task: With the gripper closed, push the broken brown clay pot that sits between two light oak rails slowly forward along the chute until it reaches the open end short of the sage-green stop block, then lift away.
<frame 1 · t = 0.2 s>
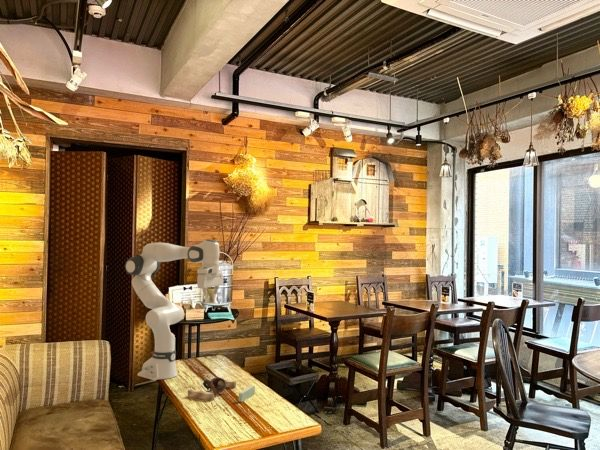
hand: (210, 295, 245), 47 cm above the table, tool pointing down, fingers open, 8 cm apart
broken brown clay pot: (214, 392, 230), on the table
stop block: (246, 397, 222), on the table
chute: (212, 391, 230), on the table
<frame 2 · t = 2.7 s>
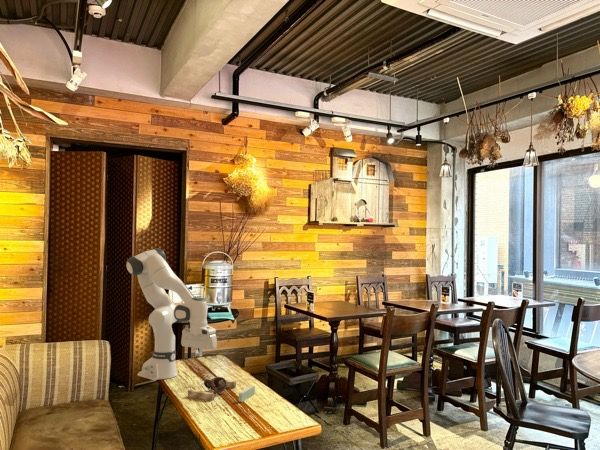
hand: (198, 356, 234), 17 cm above the table, tool pointing down, fingers closed
nothing on the table moved.
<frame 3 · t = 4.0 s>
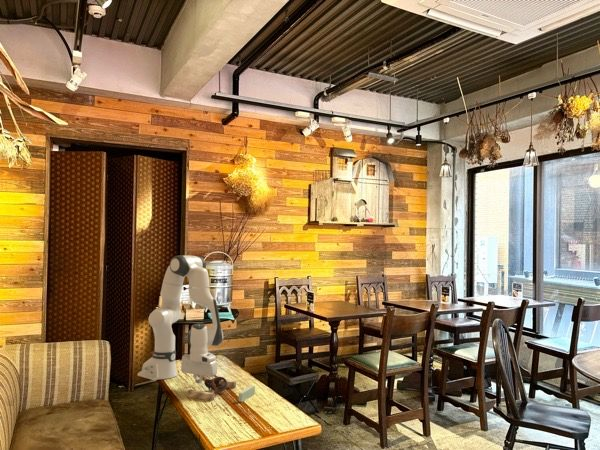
hand: (198, 382, 234), 3 cm above the table, tool pointing down, fingers closed
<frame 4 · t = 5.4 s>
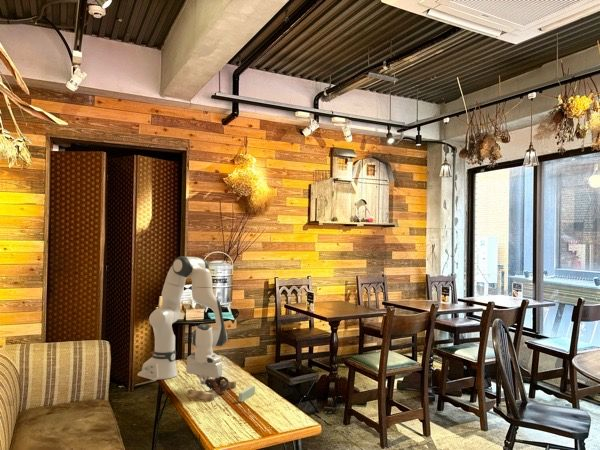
hand: (203, 384, 232), 3 cm above the table, tool pointing down, fingers closed
broken brown clay pot: (217, 391, 231), on the table, touching gripper
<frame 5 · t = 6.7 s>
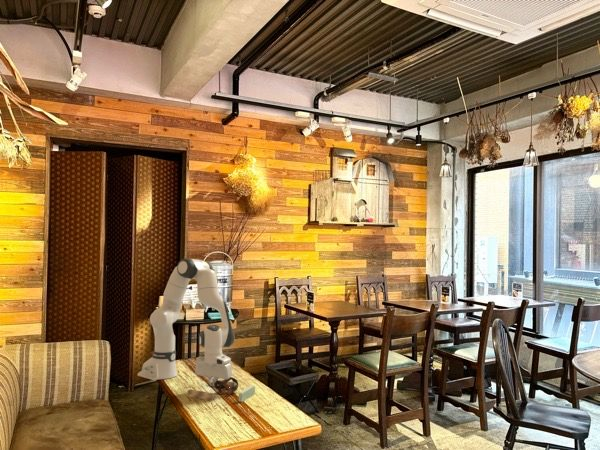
hand: (213, 385, 230), 3 cm above the table, tool pointing down, fingers closed
broken brown clay pot: (226, 392, 230), on the table, touching gripper
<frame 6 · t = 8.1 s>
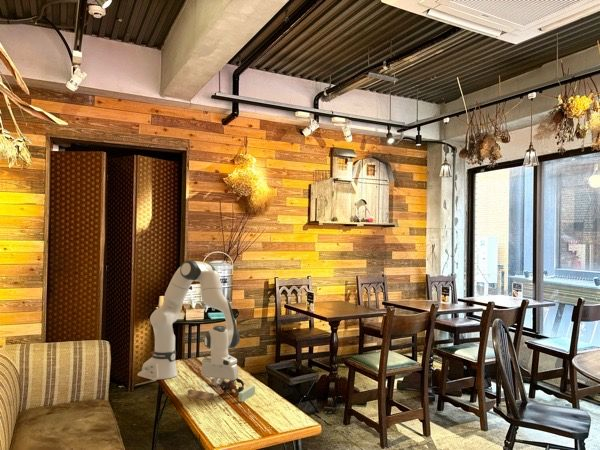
hand: (219, 386, 229), 3 cm above the table, tool pointing down, fingers closed
broken brown clay pot: (231, 393, 228), on the table, touching gripper
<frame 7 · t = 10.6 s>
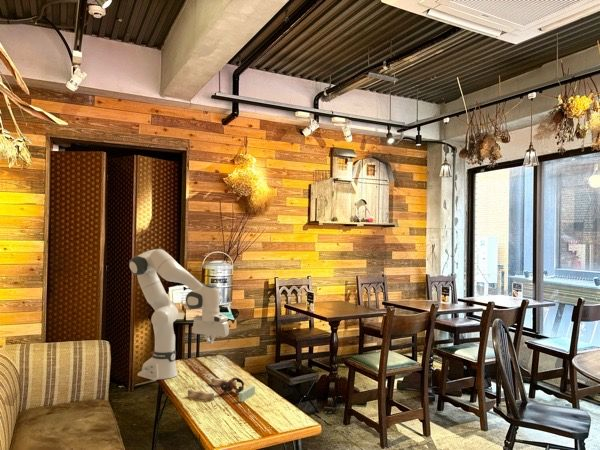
hand: (210, 343, 232), 24 cm above the table, tool pointing down, fingers closed
broken brown clay pot: (231, 393, 229), on the table
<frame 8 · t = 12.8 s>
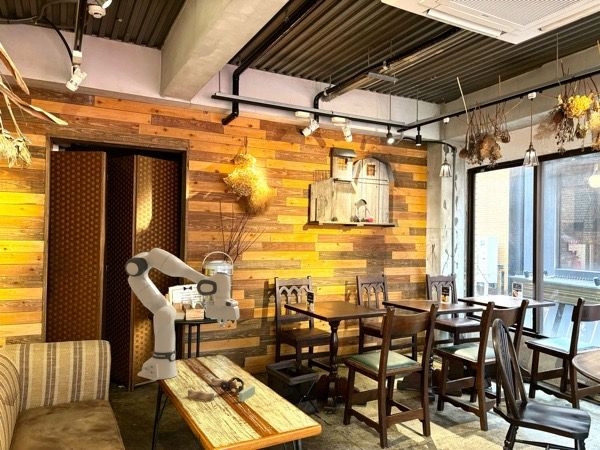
hand: (222, 327, 249), 29 cm above the table, tool pointing down, fingers closed
nothing on the table moved.
at the end: broken brown clay pot inside the target area (4.9 cm from its centre), on the table; broken brown clay pot tilted 0°; broken brown clay pot moved 8.8 cm from its start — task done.
